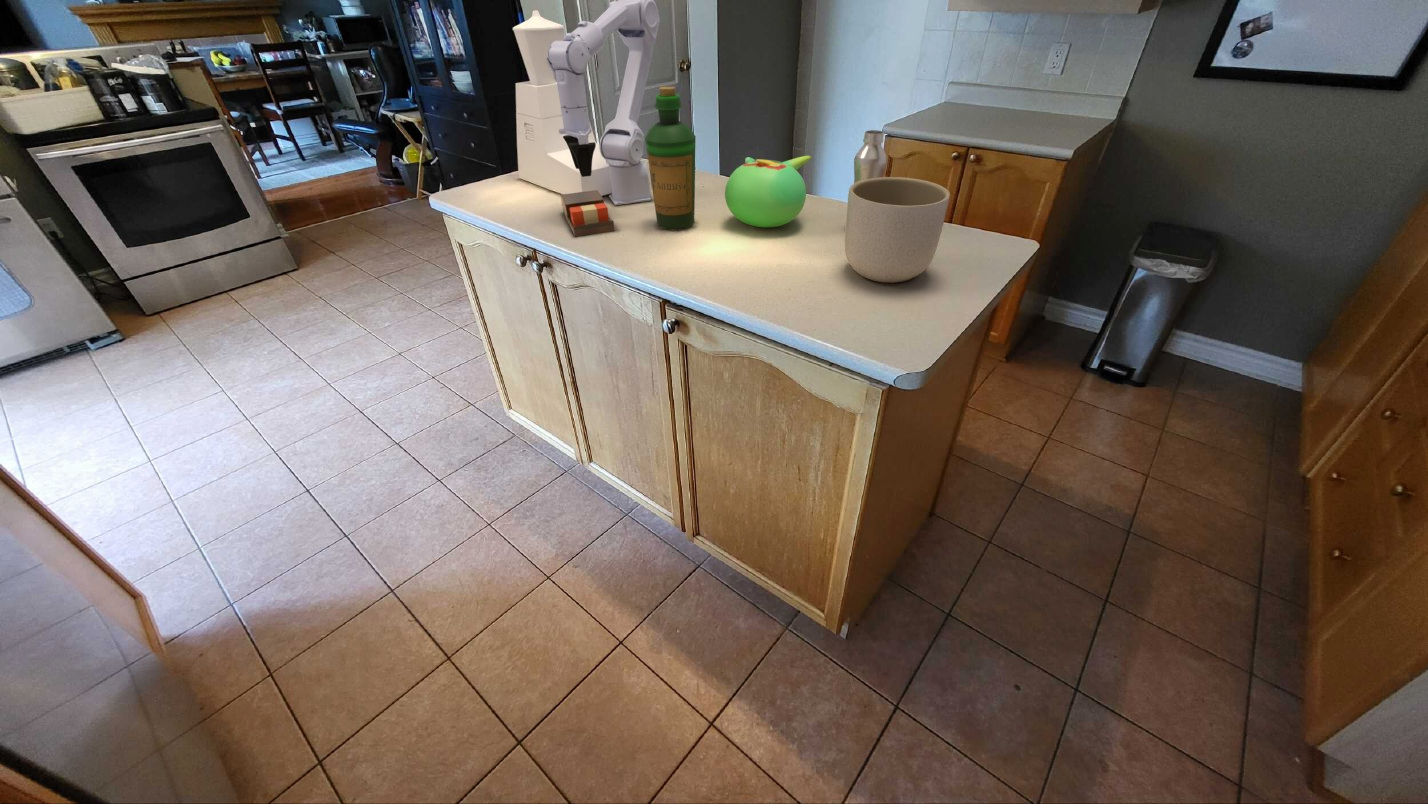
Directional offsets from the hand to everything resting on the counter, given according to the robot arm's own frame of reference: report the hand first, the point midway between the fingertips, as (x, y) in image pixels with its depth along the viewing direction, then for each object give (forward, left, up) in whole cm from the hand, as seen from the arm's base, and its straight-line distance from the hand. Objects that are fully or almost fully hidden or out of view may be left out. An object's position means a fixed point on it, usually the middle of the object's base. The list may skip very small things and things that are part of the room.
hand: (583, 172), depth 131 cm
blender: (-2, -29, -11) cm, 31 cm away
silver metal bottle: (-54, +34, -11) cm, 65 cm away
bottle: (-17, +14, -11) cm, 25 cm away
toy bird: (-36, +22, -11) cm, 44 cm away
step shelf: (+1, +3, -10) cm, 11 cm away
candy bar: (+1, +8, -9) cm, 12 cm away
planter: (-46, +55, -11) cm, 72 cm away
